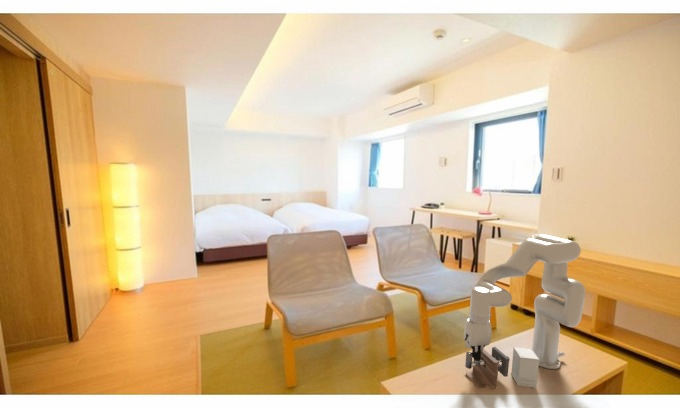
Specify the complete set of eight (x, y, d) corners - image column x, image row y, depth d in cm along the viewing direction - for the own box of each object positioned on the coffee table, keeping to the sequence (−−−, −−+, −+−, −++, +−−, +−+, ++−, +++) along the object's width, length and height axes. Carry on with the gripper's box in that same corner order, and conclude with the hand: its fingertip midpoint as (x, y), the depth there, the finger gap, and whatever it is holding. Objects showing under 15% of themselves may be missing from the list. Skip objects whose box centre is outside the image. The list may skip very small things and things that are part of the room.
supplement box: (537, 388, 120) (540, 359, 118) (517, 385, 121) (519, 357, 119) (529, 375, 127) (532, 348, 125) (510, 373, 128) (513, 346, 127)
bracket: (476, 369, 130) (478, 344, 129) (496, 389, 119) (498, 362, 117) (462, 371, 129) (464, 346, 127) (481, 392, 117) (483, 364, 116)
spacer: (493, 363, 129) (495, 346, 128) (507, 376, 122) (509, 358, 121) (490, 364, 129) (492, 347, 128) (504, 376, 121) (506, 359, 120)
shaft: (505, 358, 127) (506, 346, 126) (509, 362, 125) (511, 349, 124) (464, 365, 123) (465, 352, 122) (467, 369, 120) (468, 355, 119)
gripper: (488, 311, 125) (485, 351, 127) (457, 314, 122) (454, 355, 124) (501, 320, 118) (498, 362, 120) (469, 324, 114) (466, 367, 117)
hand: (476, 358), depth 122 cm, fingers closed
